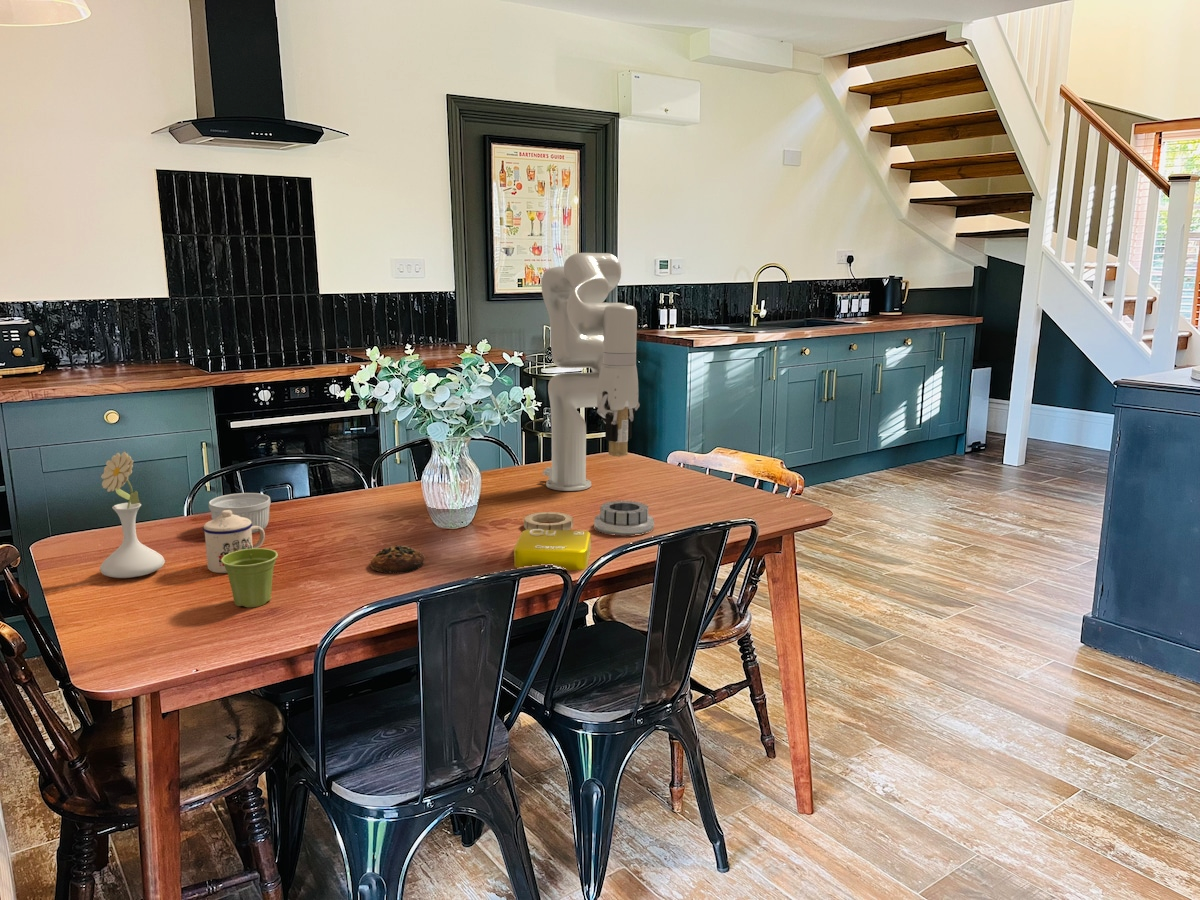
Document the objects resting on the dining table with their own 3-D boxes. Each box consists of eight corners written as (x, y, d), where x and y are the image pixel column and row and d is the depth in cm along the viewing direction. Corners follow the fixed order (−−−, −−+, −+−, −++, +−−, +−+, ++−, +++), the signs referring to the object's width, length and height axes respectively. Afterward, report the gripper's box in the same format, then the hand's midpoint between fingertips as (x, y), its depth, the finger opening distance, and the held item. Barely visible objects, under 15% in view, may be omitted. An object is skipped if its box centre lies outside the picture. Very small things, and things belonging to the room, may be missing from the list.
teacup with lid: (219, 577, 172) (214, 519, 170) (198, 566, 178) (193, 511, 176) (276, 562, 181) (273, 507, 179) (255, 553, 187) (251, 499, 184)
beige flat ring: (514, 527, 207) (514, 519, 207) (546, 517, 216) (546, 509, 215) (550, 536, 200) (550, 528, 200) (582, 525, 209) (582, 517, 208)
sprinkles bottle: (604, 455, 204) (605, 397, 201) (617, 452, 207) (617, 395, 205) (619, 457, 201) (620, 399, 198) (632, 454, 204) (633, 397, 202)
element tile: (512, 570, 179) (512, 547, 178) (523, 547, 194) (523, 526, 193) (586, 572, 178) (586, 549, 177) (591, 549, 193) (591, 528, 192)
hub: (582, 528, 207) (582, 507, 206) (618, 515, 217) (618, 496, 216) (630, 540, 198) (630, 518, 197) (665, 526, 209) (666, 506, 208)
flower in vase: (96, 571, 175) (82, 447, 170) (158, 560, 182) (147, 441, 177) (107, 590, 165) (93, 459, 160) (173, 577, 172) (161, 452, 166)
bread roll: (400, 577, 173) (397, 552, 172) (358, 575, 178) (356, 551, 178) (437, 564, 182) (434, 540, 182) (396, 562, 188) (394, 539, 187)
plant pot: (287, 604, 159) (284, 558, 157) (231, 616, 153) (228, 568, 152) (272, 589, 166) (269, 545, 164) (219, 599, 161) (215, 553, 159)
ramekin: (282, 528, 204) (280, 499, 203) (226, 541, 195) (224, 510, 194) (255, 517, 213) (253, 489, 212) (201, 528, 204) (198, 499, 202)
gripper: (629, 356, 209) (628, 432, 212) (582, 361, 196) (582, 442, 200) (655, 358, 204) (653, 436, 208) (608, 364, 191) (607, 447, 195)
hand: (618, 438), depth 204 cm, fingers closed on sprinkles bottle, 4 cm apart
